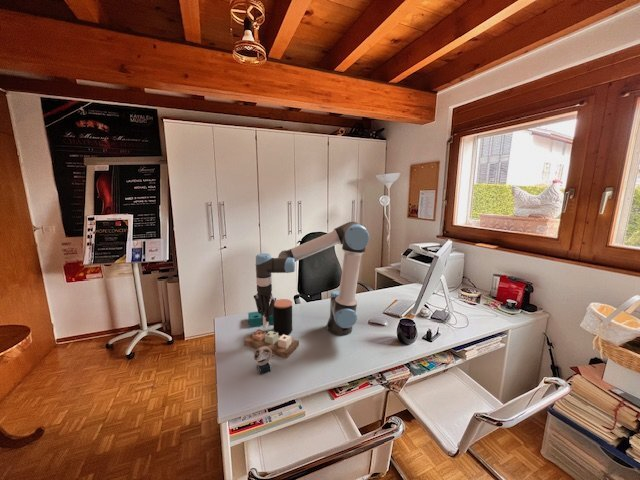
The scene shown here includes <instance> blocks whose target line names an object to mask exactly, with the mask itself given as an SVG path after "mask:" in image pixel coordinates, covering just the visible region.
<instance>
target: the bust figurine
mask: <svg viewBox="0 0 640 480" xmlns="http://www.w3.org/2000/svg"><path fill="white" fill-rule="evenodd" d="M265 349H269V350H270V351H269V353H268V354H267V356H266V358H263V359H262V357H263V352H264V351H263V350H265ZM272 357H273V354H272V351H271V349H270V348H269V347H268V346H263V347H260V348H258V349H255V351H254V353H253V360H254V361H255V363H256V368H257V371H258V372H259V374H260V375H265V374H267V373H270V372H271V364H270V360H271V359H272Z"/></svg>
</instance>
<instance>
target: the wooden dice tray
mask: <svg viewBox="0 0 640 480" xmlns="http://www.w3.org/2000/svg"><path fill="white" fill-rule="evenodd" d="M258 330H259V331H262V332H266V334H267V333H268V332H269V331H267V330H264V329H256V330H255V331H254V332H253V333H252V334H250V335H249V336H248V337H247V338H245V339H244V341H243V342H244V346H246V347H249V348H252V349H254V350H257V349H258V348H260V347H263V346H268V347H269V348H270V349H271V351H272V356H276V357H278V358H279V357H280V358H283V359H286V360H288V358H289V357H291V355H292V354H293V353H294V352H295V351H296V350H297V349H298V347H300V340H299V339H298V340H297V339H294V338H291V345H290V346H289V347H288V348H287V349H285V348H282V347H278V341H277V342H276V343H274V344H273V345H272V344H269V343H265V338H263V339H262V340H261V341H259V340H256V339H253V338H252V335H253V334H254V333H255V332H257V331H258ZM280 337H281V335H278V339H279V338H280ZM269 351H270V350H269V349H265V350H263V352H264V353H268V354H269Z"/></svg>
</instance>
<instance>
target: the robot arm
mask: <svg viewBox="0 0 640 480" xmlns="http://www.w3.org/2000/svg"><path fill="white" fill-rule="evenodd" d="M369 243H370V234H369V231H368V230H367V228H366V227H365V226H364V225H362V224H360V223H358V222H356V221H348V222H346V223H344V224H342V225H339V226H337V227H334V228H333V230H332V231H330V232H328V233H325V234H323V235H321V236H319V237H316V238H313V239H311V240H308V241H307V242H304V243H302V244H299V245H297V246H295V247H292V248H290V249H283V250H281V251H280V252H279V253H278V257H272V255H271V254H270V253H264V252H263V253H258V254H257V255H256V256H255V264H254V265H255V273H256V276H255V277H256V279H255V280H256V292H257V293H256V294H254V295H253V299H254V300H255V301H254V302H255V304H256V309H257V312H258V313H259V314H261V315H262V321H263V326H262V327H263V328H264V329H266V328H268V327H269V326H270V325H269V322H268V321H269V316H270V315H272V314H273V309H274V304H275V301H276V300H277V298H276V297H273V293H272V292H273V285H272V281H273V280H272V274H284V273H286V274H289V273H295V271H296V262H298V261H300V260H303V259H305V258H308V257H310V256H312V255H314V254H317V253H320V252H322V251H324V250H328V249H329V248H332V247H335V246H336V245H340V246H342V248H341V249H342V251H343V254H344V255H343V260H342V268H341V269H342V270H341V277H340V282H339V283H340V284H339V290H333V291H332V292H331V293H330V297H329V298H330V303H329V304H330V305H329V308H330V309H329V313H330V314H329V318H328V320H327V323H326V330H327V331H328V333H330V334H332V335H336V336H346V335H349V334H350V333H352V331H353V326H355V324H356V323H357V321H358V313H357V306H358V301H357V299H356V293H357V286H358V279H359V273H360V272H359V271H360V267H361V259H362V255H363V254H365V253H366V247H367V246H368V244H369Z"/></svg>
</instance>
